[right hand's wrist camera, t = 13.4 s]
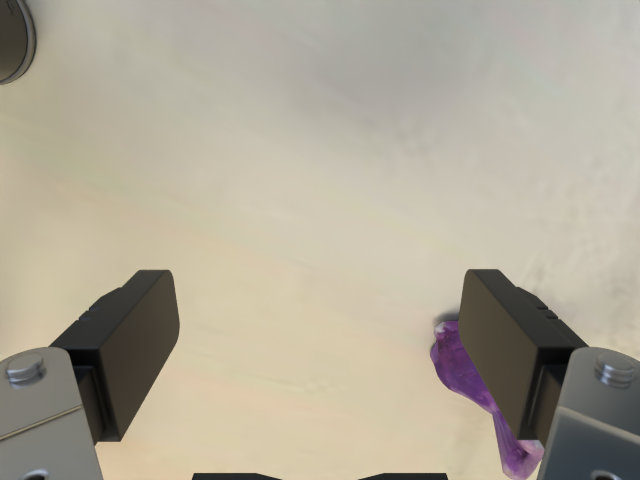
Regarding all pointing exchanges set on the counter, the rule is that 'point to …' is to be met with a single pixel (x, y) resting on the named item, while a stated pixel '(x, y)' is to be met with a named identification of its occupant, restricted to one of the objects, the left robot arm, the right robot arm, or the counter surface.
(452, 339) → the figurine
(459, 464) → the counter surface
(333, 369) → the counter surface
